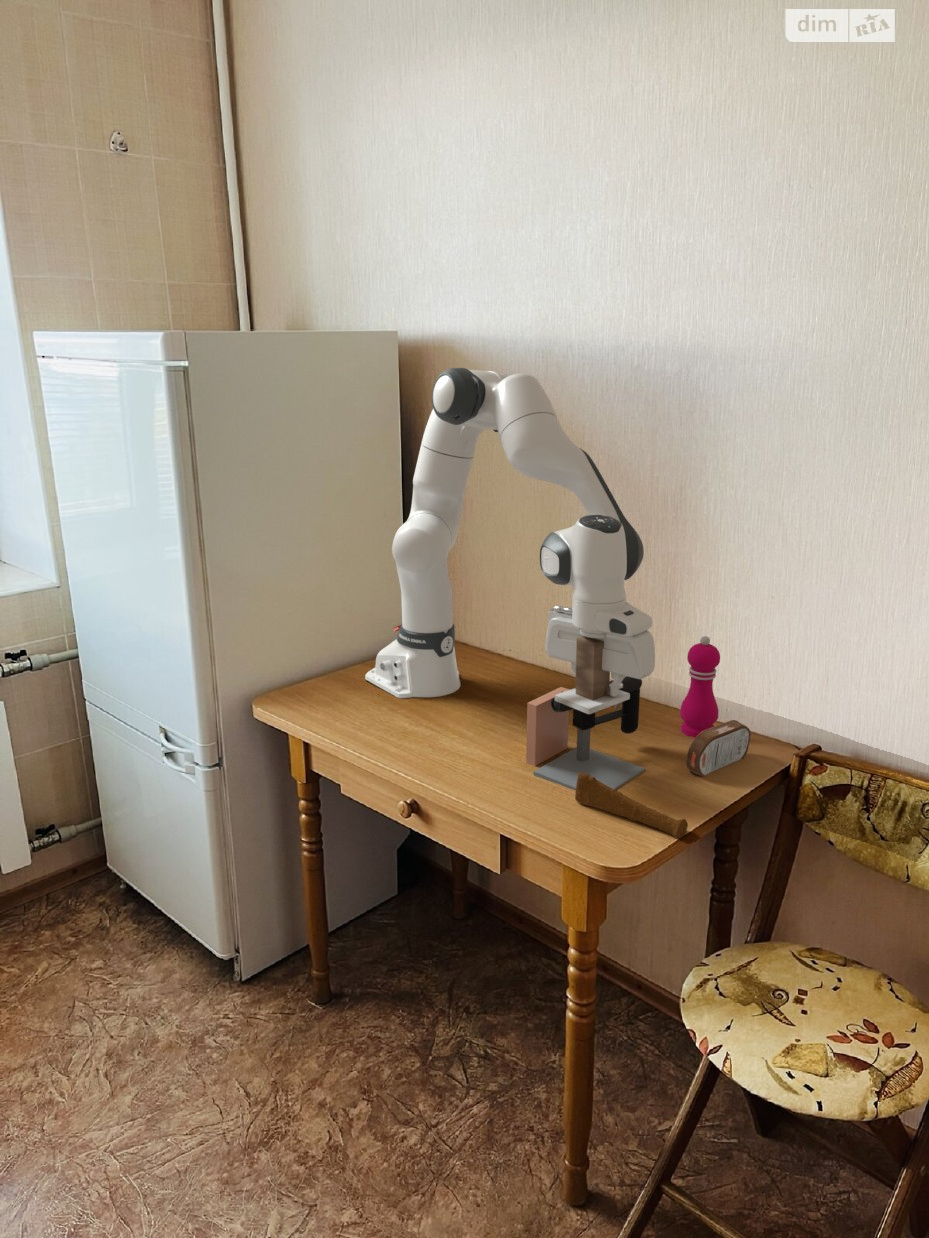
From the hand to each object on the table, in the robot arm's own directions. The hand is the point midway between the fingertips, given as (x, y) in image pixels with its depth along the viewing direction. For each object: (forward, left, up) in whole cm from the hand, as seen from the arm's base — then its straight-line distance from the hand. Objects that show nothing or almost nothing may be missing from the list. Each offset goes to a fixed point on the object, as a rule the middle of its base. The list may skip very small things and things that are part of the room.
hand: (597, 691), depth 158 cm
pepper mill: (+6, +27, -16) cm, 32 cm away
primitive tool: (+11, -10, -18) cm, 23 cm away
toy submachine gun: (-3, +5, -17) cm, 18 cm away
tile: (-10, 0, -16) cm, 19 cm away
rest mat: (0, -1, -16) cm, 16 cm away
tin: (+16, +16, -16) cm, 28 cm away
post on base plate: (0, -1, -1) cm, 2 cm away
